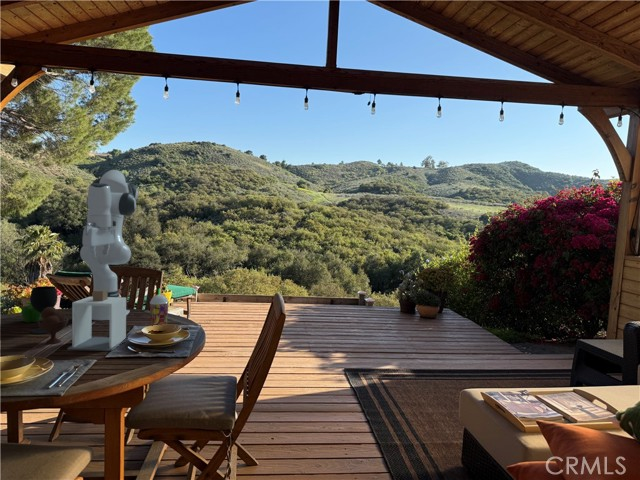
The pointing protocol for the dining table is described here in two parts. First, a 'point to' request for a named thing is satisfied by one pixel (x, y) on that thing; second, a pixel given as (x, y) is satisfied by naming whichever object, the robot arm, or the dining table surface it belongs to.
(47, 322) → the ice cream bowl
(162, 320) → the smoothie
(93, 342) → the mat
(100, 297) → the cover
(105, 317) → the robot arm
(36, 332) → the wine glass
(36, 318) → the bell pepper
